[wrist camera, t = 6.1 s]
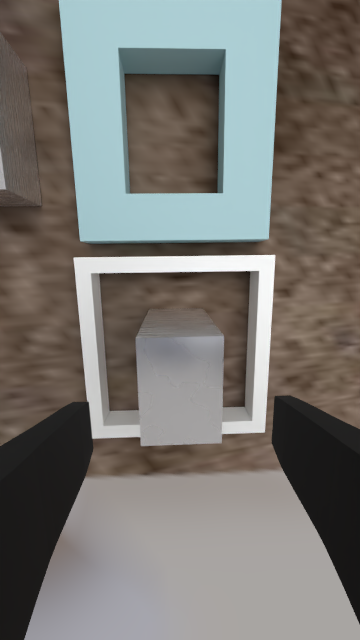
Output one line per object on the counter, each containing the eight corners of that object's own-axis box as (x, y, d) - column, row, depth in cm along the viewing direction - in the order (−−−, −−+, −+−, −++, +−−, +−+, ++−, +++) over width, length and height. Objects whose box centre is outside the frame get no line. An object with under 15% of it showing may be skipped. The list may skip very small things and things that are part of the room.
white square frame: (97, 422, 21) (90, 438, 19) (83, 258, 19) (73, 257, 17) (256, 417, 22) (264, 432, 20) (264, 256, 19) (275, 255, 17)
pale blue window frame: (89, 243, 18) (80, 241, 16) (71, 19, 16) (57, -16, 14) (258, 241, 19) (268, 239, 17) (268, 22, 16) (281, -11, 14)
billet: (151, 377, 21) (140, 445, 13) (149, 309, 20) (135, 338, 12) (202, 376, 21) (221, 442, 13) (202, 308, 20) (224, 336, 12)
